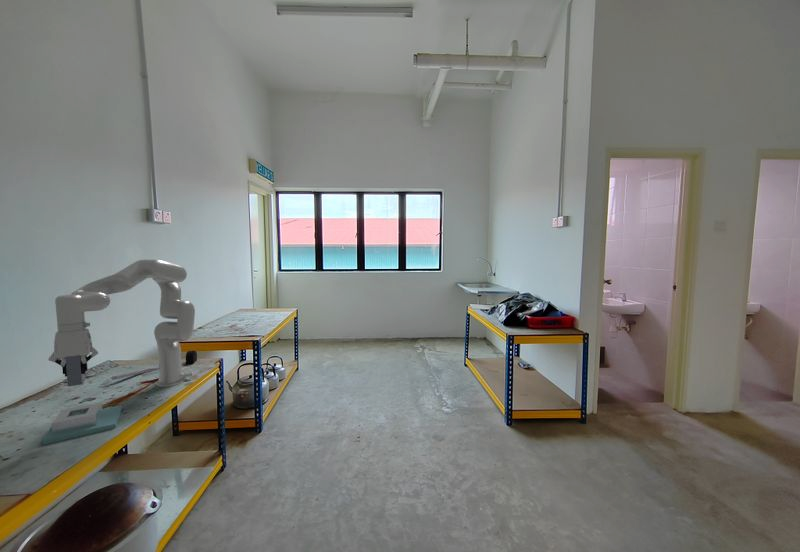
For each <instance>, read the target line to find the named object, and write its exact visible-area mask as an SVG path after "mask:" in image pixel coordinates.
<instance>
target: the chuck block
mask: <svg viewBox="0 0 800 552" xmlns="http://www.w3.org/2000/svg"><path fill="white" fill-rule="evenodd" d="M123 410H124V409H123V404H120V405H116V406H111V407H106V408H105V407H104V408H103V403H102V402H97V403H96V402H95V403H91V404H86V405H82V406H75V407H69V408H66V409H61V410H60V412H59V413H58V414H57V416H55V418H54V420H53V421H52V423H51V426H50V428H49V429H48V431H47V432H46V433H45V435H44V436H43V438H42V439H41V443H42V446H43V445H47V444H51V443H52V444H53V443H58V442H62V441H65V440H70V439H73V438H77V437H78V438H79V437H83V436H86V435H90V434H91V433H92V434H95V432H96V433H99V432H100V433H101V432H103V431H104V430H105V431H109V430H112V429H113V430H114V429H116V428H117V426H116V425H117V424H118V422H119V419H120V418H121V417H120V416H121V414H122V412H121V411H123Z"/></svg>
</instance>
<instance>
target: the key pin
mask: <svg viewBox="0 0 800 552" xmlns="http://www.w3.org/2000/svg"><path fill="white" fill-rule="evenodd" d="M65 359H66V371H67V377H66V381H67V387H74V386H80V385H83V384H84V383H85V381H86V380H85V374H82V371H81V364H82V360H81V357H80V355H76V356H69V357H65Z"/></svg>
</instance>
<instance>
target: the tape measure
mask: <svg viewBox="0 0 800 552" xmlns="http://www.w3.org/2000/svg"><path fill="white" fill-rule="evenodd" d="M197 361H198V352H197V350H188V351H186V354H185V365H188V366H189V365H194V364H195V363H196V362H197Z"/></svg>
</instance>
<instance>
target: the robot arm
mask: <svg viewBox="0 0 800 552" xmlns="http://www.w3.org/2000/svg"><path fill="white" fill-rule="evenodd" d="M187 276H188V275H187V270H186V269H185V267H183V266H182V265H179V264H175V263H172V262H169V261H165V260H161V259H139V260H136V261H135V262H133V263H131V264H129V265H127V266H126V267H124V268H123V269H121V270H119V271H117V272H115V273H113V274H111V275H108V276H105V277H103V278H99V279H97V280H94V281H91V282H88V283H87V284H85V285H83V286H81V287H79V288H78V289H76V290H74V291H72V292H71V293H70V294H64V295H58V296H57V297H56V298H55V300H54V301H55V302H54V303H55V314H56V323H57V324H56V325H57V331H56V332H55V336H54V341H53V342H54V345H53V352H52V353H51V355H50V356H49V357H48V360H47V361H49V362H52V363H55V364H57V365H59V366H60V367H61V368H62V374H63V375H64V377H66V378H67V371H66V359H65V357H69V356H76V355H80V357H81V360H82V364H81V371H82V374H84V375H85V374H86V372H87V371H88V362H89V361H90V360H91V359H92V358H94V357H95V356H97V355H98V354H99V351H98V350H97V349H96V348H95V347H94V346H93V342H92V341H93V340H92V337H91V333H90V330H89V327H91V322H87V321H86V320H85V318H86V317H85V313H86V312H98V311H103V310H104V309H107V308H108V306H109V305H110V303H111V298H110V296H109V295H113V294H118V293H124V292H127V291H129V290H131V289H134V287H136V286H137V285H139V284H141V283H142V282H143V281H146V279H152V280H153V281H154V282H155V283H156V284H157V285H158V286H159V288H160V293H161V294H160V304H159V315H160V317H162V318H163V319H169V320H176V321H162V322H160V323H158V324H157V325H156V326H155V328H154V330H153V333H154V334H153V335H154V339H155V341H156V346H157V359H158V360H157V361H158V367H159V369H158V371H159V380H158V381H156V383H155V385H156V387H159V388H168V387H169V388H170V387H174V386H178V385H180V384H182V383H184V382H185V381H186V380H187V377H193V371H192V372H191V371H188V372H187V371H186V372H184V370H183V365H182V353H181V352H182V350H181V349H182V348H181V344H180V342H187V341H189V340H190V339H191V337H192V336H193V334H194V330H195V329H194V327H195V317H196V316H195V315H196V310H195V305H194V304H193V303H192V302H191V301H188V300H182V287H181V286H180V283H183V282H184V281H185V280H186V279H187ZM87 327H88V328H87Z"/></svg>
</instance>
